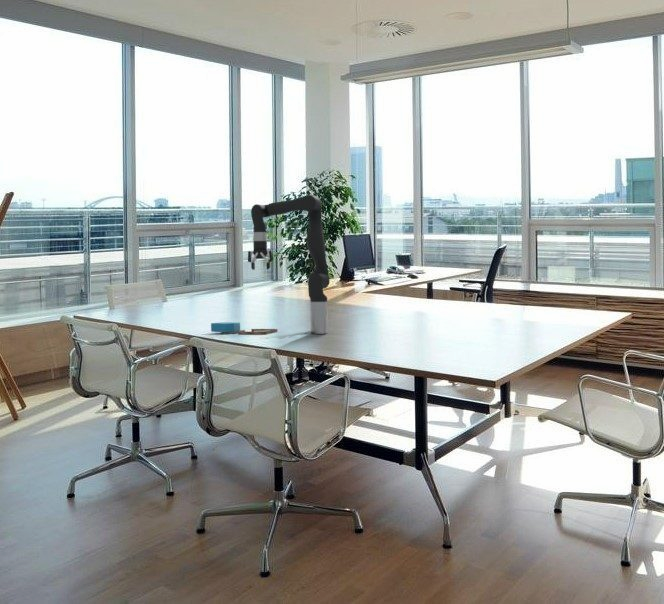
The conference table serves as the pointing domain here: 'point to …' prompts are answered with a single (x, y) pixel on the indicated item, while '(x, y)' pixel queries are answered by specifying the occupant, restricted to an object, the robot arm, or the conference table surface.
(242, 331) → the rubber mat
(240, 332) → the brown wooden frame
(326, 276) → the robot arm
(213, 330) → the data package
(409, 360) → the conference table surface
